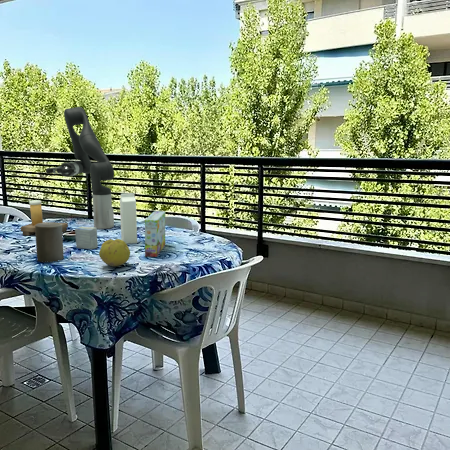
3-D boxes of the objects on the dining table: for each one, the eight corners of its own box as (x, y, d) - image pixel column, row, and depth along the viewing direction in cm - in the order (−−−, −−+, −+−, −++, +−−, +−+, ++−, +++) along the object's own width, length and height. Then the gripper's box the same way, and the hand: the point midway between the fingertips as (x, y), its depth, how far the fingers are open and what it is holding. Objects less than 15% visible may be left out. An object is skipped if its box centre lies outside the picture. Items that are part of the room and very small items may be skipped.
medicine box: (98, 247, 194) (97, 227, 192) (91, 249, 190) (90, 229, 188) (82, 245, 196) (81, 226, 194) (76, 248, 192) (74, 228, 190)
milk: (137, 242, 202) (136, 193, 198) (123, 244, 200) (122, 194, 195) (134, 239, 208) (133, 192, 203) (121, 241, 205) (119, 192, 201)
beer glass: (45, 223, 222) (43, 200, 220) (39, 225, 217) (37, 201, 215) (35, 223, 223) (33, 200, 220) (29, 225, 218) (27, 201, 215)
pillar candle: (37, 263, 169) (34, 224, 166) (36, 257, 178) (34, 219, 175) (64, 261, 173) (63, 222, 170) (62, 254, 182) (61, 218, 179)
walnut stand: (68, 231, 225) (67, 223, 224) (54, 236, 212) (54, 228, 211) (36, 229, 227) (35, 221, 226) (21, 235, 214) (20, 227, 214)
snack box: (158, 257, 179) (157, 219, 176) (144, 257, 179) (143, 219, 176) (166, 244, 200) (165, 210, 197) (153, 244, 200) (152, 210, 197)
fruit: (92, 268, 163) (91, 241, 161) (111, 260, 174) (110, 235, 172) (118, 272, 159) (117, 244, 157) (136, 263, 170) (136, 237, 168)
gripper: (57, 162, 250) (41, 164, 234) (81, 162, 248) (67, 164, 232) (57, 175, 251) (42, 178, 236) (82, 176, 250) (68, 179, 234)
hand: (54, 171), depth 234 cm, fingers open, 8 cm apart
